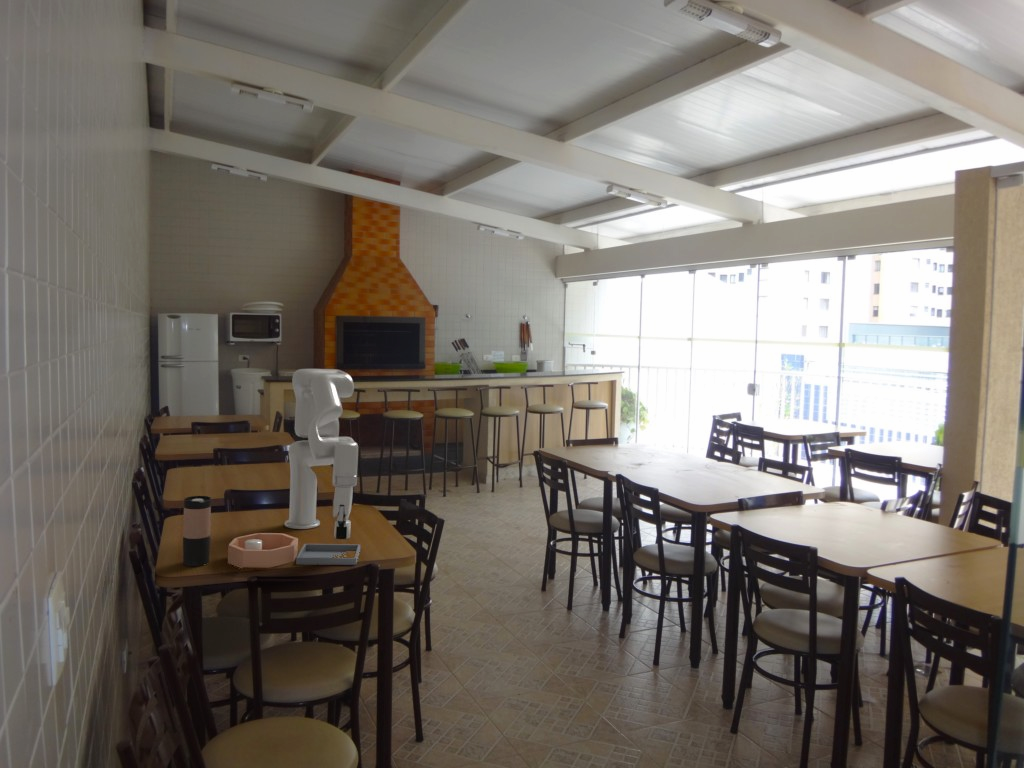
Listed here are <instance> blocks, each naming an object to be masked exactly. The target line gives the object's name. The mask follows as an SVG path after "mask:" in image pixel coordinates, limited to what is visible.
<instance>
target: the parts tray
mask: <svg viewBox="0 0 1024 768" xmlns="http://www.w3.org/2000/svg"><path fill="white" fill-rule="evenodd" d="M346 551H356V554H355V557H354V558H343V557H342V558H340V557H339V556H342V555H341V554H343V553H344V554H346ZM341 552H342V553H341ZM359 552H361V544H355V543H354V544H351V543H349V544H348V543H347V544H346V543H344V544H343V543H340V544H339V543H338V544H337V543H304V544H303V546H302V547H301V549H300V551H298V554H297V556H296V558H295V561H296V562H295V564H296V565H304V566H305V565H313V566H314V565H316V566H317V564H318V565H320V566H322V565H323V566H328V565H330V566H333V565H334V566H335V565H336V566H356V565H357V563H358V560H359V557H360V553H359ZM344 554H343V555H344ZM333 555H334V556H333ZM335 555H336V556H337V555H338V556H337V557H338V558H336V557H335ZM358 556H359V557H358ZM332 557H335V558H332ZM344 557H347V556H346V555H344ZM357 559H358V560H357Z"/></svg>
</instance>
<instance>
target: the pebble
mask: <svg viewBox="0 0 1024 768" xmlns="http://www.w3.org/2000/svg"><path fill="white" fill-rule="evenodd" d="M343 520H344V519H343ZM344 521H345V520H344ZM351 523H352V522H351V520H349V519H348V520H347V521H346V526H347V538H346V539H345V540H348V539H350V538H351V526H352V524H351ZM336 527H337V519H336V520H335V521H334V533H333V535H334V536H333V538H334V539H336Z"/></svg>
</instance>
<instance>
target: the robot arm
mask: <svg viewBox="0 0 1024 768" xmlns="http://www.w3.org/2000/svg"><path fill="white" fill-rule="evenodd" d="M291 381H292V382H291V383H292V388H293V393H294V396H295V412H294V433H295V436H297V437H300V438H303V439H304V438H306V439H307V440H306V439H305V440H298V441H297V440H296V441H294V442H292V443H291V444H290V445H289V447H288V459H289V470H290V478H289V479H290V483H289V514H288V515H289V517H288V519H287V520H285V521H284V526H285V527H286V528H289V529H294V530H309V529H314V528H317V527H319V526H320V525H321V521H320V520H319V519H317V518H316V517H317V496H318V495H317V493H318V492H317V489H318V487H317V486H318V479H317V475H316V473H315V472H314V471H313V470H312V469H311V467H318V466H332V483H331V484H332V486H333V487H335V488H334V495H333V511H332V517H333V518H334V519H335V518H337V519H336V520H337V527H336V538H335V539H336V540H347V539H346V538H347V526H346V521H347V520H349V516H350V514H351V511H352V505H353V492H354V491H353V490H354V489H353V488H354V487H357V486H358V485H357V483H358V467H359V466H358V464H359V463H358V462H359V445H358V444H359V443H357V442H356V441H355V440H354V439H353V438H352V437H351V436H339V435H340V421H339V418H340V417H341V416H342V415H343V411H344V410H343V406H342V402H341V399H342V398H343V399H344V398H346V399H348V398H350V397H352V396H353V394H354V391H355V384H354V380H353V378H352V376H351V375H350V373H349V374H348V373H347V372H346V371H343V370H341V369H335V368H299V369H297V370H296V371H294V373H293V375H292V379H291ZM343 519H344V520H345V521H344V520H343Z"/></svg>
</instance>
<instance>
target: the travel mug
mask: <svg viewBox="0 0 1024 768" xmlns="http://www.w3.org/2000/svg"><path fill="white" fill-rule="evenodd" d="M211 504H212V499H211V497H210V496H207V495H192V496H187V497H185V498H184V499H183V525H182V549H183V550H182V553H183V554H182V557H183V559H182V561H183V562H182V564H183V565H184V566H185V565H186V566H185V567H188V566H199V567H202V566H201V565H204V564H206V565H208V564H209V563H208V562H210V552H211V551H210V549H211V547H210V546H211V528H212V527H211V526H212V525H211V515H212V513H211V512H212V511H211V510H212V505H211ZM207 563H208V564H207ZM204 566H205V565H204Z"/></svg>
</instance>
